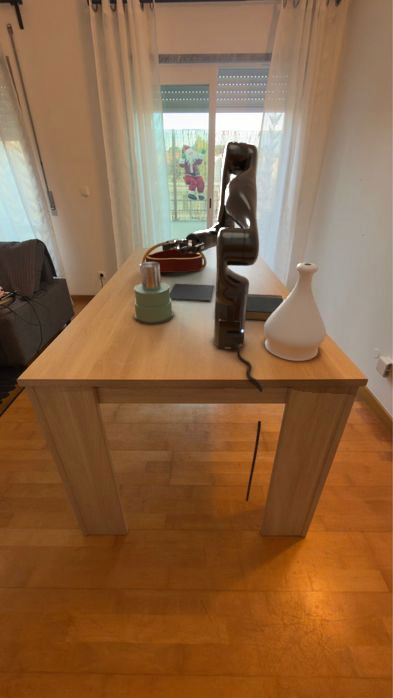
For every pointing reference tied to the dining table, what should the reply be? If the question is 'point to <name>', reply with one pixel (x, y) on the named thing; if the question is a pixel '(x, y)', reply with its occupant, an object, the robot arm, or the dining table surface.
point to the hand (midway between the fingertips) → (171, 249)
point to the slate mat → (191, 292)
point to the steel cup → (150, 276)
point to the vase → (296, 321)
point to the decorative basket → (175, 260)
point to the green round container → (153, 305)
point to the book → (262, 306)
